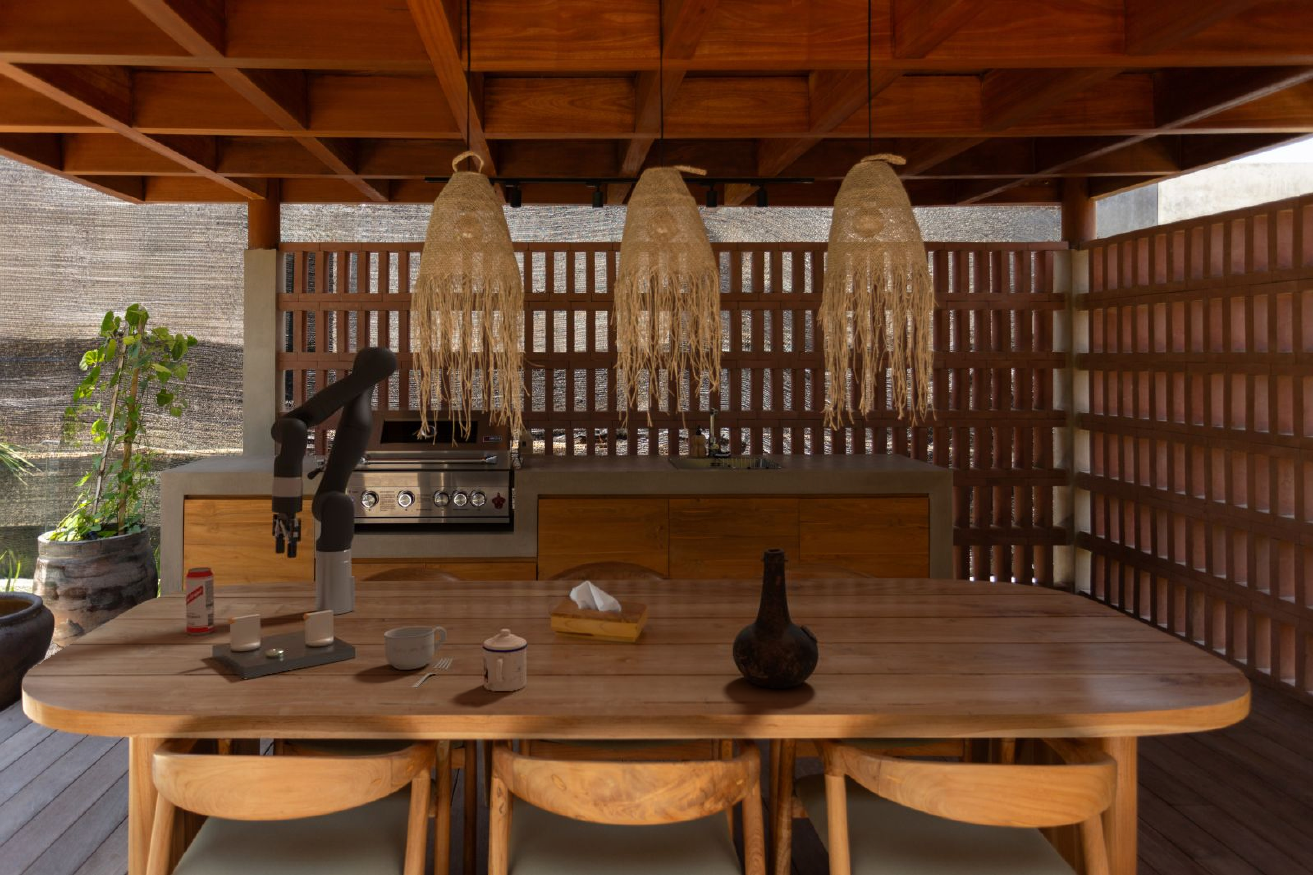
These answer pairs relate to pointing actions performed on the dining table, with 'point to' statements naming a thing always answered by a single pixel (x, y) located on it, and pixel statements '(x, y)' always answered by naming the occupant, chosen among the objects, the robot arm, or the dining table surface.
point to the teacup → (412, 646)
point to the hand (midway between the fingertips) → (285, 555)
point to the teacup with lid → (504, 662)
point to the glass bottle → (775, 635)
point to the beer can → (200, 601)
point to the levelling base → (281, 655)
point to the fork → (432, 673)
